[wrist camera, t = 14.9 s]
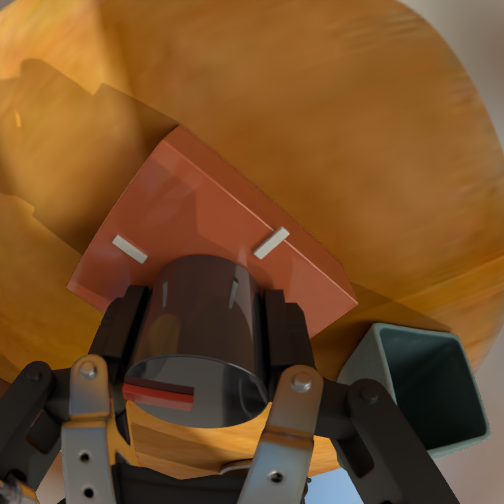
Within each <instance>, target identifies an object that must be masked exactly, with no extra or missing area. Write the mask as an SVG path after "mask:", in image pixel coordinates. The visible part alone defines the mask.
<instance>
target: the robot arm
mask: <svg viewBox="0 0 504 504" xmlns="http://www.w3.org/2000/svg"><path fill="white" fill-rule="evenodd" d="M149 294H150V291H149V288H148V286H139V285H129V286H128V288H127V290H126V292H125V295H124V297H123V298H122V297H117V298H116V299H115V300H114V301H113V302H112V303H111V304H110V305H109V306H108V308H107V310H106V312H105V314H104V317H103V319H102V321H101V325H100V326H99V328H98V331H97V333H96V335H95V338H94V340H93V343H92V345H91V348H90V350H89V353H88V355H85V356H82V357H80V358H79V359H77V360H76V361H75V362H74V364H73V365H72V367H71V368H66V369H58V370H51V368H50V367H49V365H48V364H47V363H45V362H43V361H34V362H32V363H30V364H28V365H27V366H26V367H25V368H24V369H23V370H22V371H21V373H20V374H19V375H18V376H17V378H16V379H15V380H14V382H13V383H12V384H11V386H10V387H9V388H8V389H7V391H6V392H5V393H4V395H3V396H2V397H1V399H0V504H40V503H39V501H38V499H37V496H36V493H35V492H36V490H37V488H38V487H39V485H40V483H41V481H42V480H43V478H44V476H45V475H46V473H47V471H48V469H49V468H50V466H51V464H52V463H53V461H54V459H55V458H56V456H57V454H58V453H59V451H60V450H61V448H62V464H63V477H64V489H65V498H64V499H63V500H61V501H60V502H59V503H57V504H305V499H304V497H305V495H306V494H307V492H308V485H307V482H308V483H310V482H311V479H310V478H307V474H308V470H309V466H310V461H311V457H312V453H313V448H314V440H313V437H314V435H316V436H321V437H326V438H330V440H331V442H332V444H333V446H334V448H335V450H336V452H337V454H338V456H339V458H340V459H341V461H342V463H343V465H344V467H345V469H346V471H347V473H348V475H349V476H350V478H351V480H352V482H353V484H354V486H355V488H356V490H357V492H358V493H359V495H360V497H361V499H362V501H363V503H364V504H460V503H459V501H458V500H457V498H456V496H455V495H454V493H453V491H452V490H451V488H450V487H449V485H448V483H447V482H446V480H445V479H444V477H443V475H442V474H441V472H440V471H439V469H438V467H437V466H436V464H435V463H434V461H433V460H432V458H431V456H430V455H429V453H428V452H427V450H426V449H425V447H424V446H423V444H422V442H421V441H420V439H419V438H418V436H417V435H416V433H415V432H414V430H413V429H412V427H411V426H410V424H409V423H408V421H407V420H406V418H405V417H404V415H403V414H402V412H401V411H400V409H399V408H398V406H397V405H396V403H395V402H394V400H393V399H392V397H391V396H390V394H389V393H388V391H387V390H386V388H385V387H384V386H383V385H382V384H381V383H380V382H378V381H376V380H373V379H369V378H364V379H359V380H357V381H355V382H354V383H352V384H351V385H346V384H341V383H336V382H332V381H330V380H328V379H326V378H324V377H323V376H322V375H321V374H320V373H319V372H318V371H317V369H316V367H315V364H314V359H313V354H312V349H311V344H310V339H309V334H308V329H307V325H306V320H305V315H304V311H303V310H302V309H301V308H300V306H299V305H298V304H297V303H285V297H284V291H283V289H264V292H263V317H264V330H265V343H266V356H267V369H268V382H269V395H270V396H269V402H272V406H271V409H270V412H269V416H268V419H267V422H266V425H265V428H264V430H263V431H262V434H261V437H260V440H259V442H258V445H257V448H256V451H255V454H254V457H253V460H246V461H238V462H233V463H229V464H226V465H224V466H222V467H221V468H220V475H210V476H204V477H198V478H191V479H183V480H180V479H176V478H173V477H170V476H167V475H165V474H162V473H159V472H157V471H154V470H152V469H149V468H145V467H141V464H140V461H139V458H138V456H137V454H136V451H135V447H134V442H133V436H132V429H131V422H130V414H129V407H128V404H127V400H125V399H124V397H123V393H122V388H123V384H124V383H123V379H124V374H125V371H126V367H127V363H128V360H129V357H130V353H131V350H132V346H133V343H134V340H135V337H136V333H137V330H138V327H139V324H140V321H141V318H142V315H143V311H144V308H145V305H146V302H147V299H148V296H149ZM41 410H42V412H41V414H40V415H39V417H38V418H37V420H36V421H35V423H34V424H33V426H32V427H31V429H30V430H29V432H28V433H27V430H28V429H29V427H30V426H31V424H32V423H33V421H34V420H35V418H36V417H37V415H38V414H39V413H40V411H41ZM26 433H27V434H26Z"/></svg>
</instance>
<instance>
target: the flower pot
mask: <svg viewBox="0 0 504 504" xmlns="http://www.w3.org/2000/svg"><path fill="white" fill-rule="evenodd" d="M364 378H369V379H373V380H376V381H378V382H380V383H381V384H382V385H383V386H384V387H385V388H386V390H387V391H388V393H389V394H390V396H391V397H392V399H393V400H394V402H395V403H396V405H397V406H398V408H399V409H400V411H401V412H402V414H403V415H404V417H405V418H406V420H407V421H408V423H409V424H410V426H411V427H412V429H413V430H414V432H415V433H416V435H417V436H418V438H419V439H420V441H421V442H422V444H423V446H424V447H425V449H426V450H427V452H428V453H429V455H430V456H431V458H432V459H436V458H439V457H442V456H445V455H448V454H451V453H454V452H457V451H460V450H462V449H465V448H468V447H470V446H473V445H475V444H478V443H480V442H482V441H484V440H487V439H488V438H489V437H490V435H491V431H490V427H489V422H488V418H487V415H486V412H485V408H484V405H483V402H482V399H481V395H480V392H479V389H478V386H477V383H476V380H475V377H474V374H473V371H472V368H471V366H470V363H469V360H468V358H467V355H466V352H465V350H464V347H463V345H462V343H461V341H460V339H459V337H458V336H457V335H455V334H452V333H446V332H436V331H428V330H422V329H415V328H409V327H404V326H398V325H392V324H386V323H373V324H372V326H371V327H370V329H369V330H368V332H367V333H366V335H365V336H364V337H363V339H362V340H361V342H360V343H359V345H358V346H357V347H356V349H355V350H354V352H353V353H352V355H351V356H350V357H349V359H348V360H347V362H346V363H345V365H344V366H343V368H342V370H341V371H340V373H339V375H338V378H337V381H336V383H341V384H346V385H351V384H352V383H354V382H355V381H357V380H359V379H364ZM337 460H338V463H339V465H340V466H341V467H342V468H343V469H344V470H346V469H345V467H344V465H343V463H342V461H341V459H340V458H339V456H338V454H337Z"/></svg>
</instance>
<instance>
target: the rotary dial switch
mask: <svg viewBox="0 0 504 504" xmlns="http://www.w3.org/2000/svg"><path fill="white" fill-rule="evenodd" d="M192 255H212V256H217V257H222V258H225V259H228V260H230V261H232V262H234V263H236V264H238V265H240V266H241V267H243V268H244V269H245V270H247V271H248V272H249V273H250V274H251V275H252V276H253V278H254V279H255V280H256V282H257V284H258V286H259V288H260V291H261V295H262V304H263V292H264V289H283V291H284V297H285V303H297V304H298V305H299V306H300V308H301V309H302V310H303V311H304V315H305V320H306V325H307V329H308V334H309V339H310V338H312V337H313V336H315V335H316V334H318V333H319V332H320V331H322V330H323V329H325V328H326V327H328V326H329V325H330V324H332V323H333V322H335V321H336V320H337V319H339V318H340V317H342V316H343V315H344V314H346V313H347V312H349V311H350V310H351V309H353V308H354V307H355V306H357V305H358V301H357V298H356V296H355V294H354V291H353V289H352V287H351V284H350V282H349V280H348V277H347V275H346V273H345V270H344V268H343V266H342V264H341V263H340V262H339V261H338V260H337V259H336V258H335V257H334V256H333V255H332V254H331V253H329V252H328V251H327V250H326V249H325V248H324V247H323V246H322V245H321V244H320V243H319V242H318V241H317V240H315V239H314V238H313V237H312V236H311V235H310V234H309V233H308V232H307V231H306V230H305V229H303V228H302V227H301V226H300V225H299V224H298V223H297V222H296V221H295V220H294V219H292V218H291V217H290V216H289V215H288V214H287V213H286V212H285V211H283V210H282V209H281V208H280V207H279V206H278V205H277V204H276V203H274V202H273V201H272V200H271V199H270V198H269V197H268V196H266V195H265V194H264V193H263V192H262V191H261V190H260V189H258V188H257V187H256V186H255V185H254V184H253V183H251V182H250V181H249V180H248V179H247V178H246V177H245V176H243V175H242V174H241V173H240V172H239V171H237V170H236V169H235V168H234V167H233V166H232V165H230V164H229V163H228V162H227V161H226V160H224V159H223V158H222V157H221V156H220V155H218V154H217V153H216V152H215V151H214V150H212V149H211V148H210V147H209V146H207V145H206V144H205V143H204V142H203V141H201V140H200V139H199V138H198V137H196V136H195V135H194V134H193V133H191V132H190V131H189V130H188V129H187V128H185V127H184V126H183V125H181V124H180V125H178V126H177V127H176V128H175V129H174V130H172V131H171V132H170V133H169V134H168V135H167V136H166V137H164V138H163V139H162V140H161V141H160V143H159V144H158V145H157V146H156V148H155V149H154V150H153V152H152V153H151V154H150V156H149V157H148V158H147V160H146V161H145V162H144V164H143V165H142V166H141V168H140V169H139V170H138V172H137V173H136V174H135V176H134V177H133V179H132V180H131V181H130V183H129V184H128V186H127V187H126V189H125V190H124V191H123V193H122V194H121V196H120V197H119V199H118V200H117V202H116V203H115V205H114V206H113V208H112V209H111V211H110V212H109V214H108V215H107V217H106V218H105V220H104V222H103V223H102V225H101V226H100V228H99V229H98V231H97V233H96V234H95V236H94V238H93V239H92V241H91V243H90V244H89V246H88V248H87V249H86V251H85V253H84V254H83V256H82V258H81V260H80V261H79V263H78V265H77V267H76V269H75V270H74V272H73V274H72V276H71V278H70V279H69V281H68V283H67V285H66V288H67V289H69V290H70V291H71V292H73V293H74V294H76V295H77V296H79V297H80V298H81V299H83V300H84V301H86V302H87V303H89V304H90V305H92V306H93V307H95V308H96V309H98V310H99V311H101V312H102V313H104V314H105V312H106V310H107V308H108V306H109V305H110V304H111V303H112V302H113V301H114V300H115V299H116V298H117V297H122V298H123V297H124V295H125V292H126V290H127V288H128V286H129V285H139V286H148V288H149V291H151V288H152V285H153V282H154V280H155V278H156V276H157V275H158V273H159V272H160V271H161V270H162V269H163V268H164V267H165V266H167V265H168V264H169V263H171V262H173V261H175V260H177V259H180V258H183V257H187V256H192Z"/></svg>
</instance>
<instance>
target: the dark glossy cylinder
mask: <svg viewBox="0 0 504 504" xmlns="http://www.w3.org/2000/svg"><path fill="white" fill-rule="evenodd" d="M123 383H124V384H123V388H122V393H123V397H124V399H125V400H130V401H133V402H134V403H135V404H136V405H137V406H138V407H140V408H141V409H142V410H144V411H146V412H147V413H149V414H151V415H153V416H155V417H157V418H159V419H162V420H164V421H167V422H170V423H174V424H177V425H182V426H187V427H195V428H223V427H230V426H235V425H239V424H242V423H245V422H247V421H250V420H252V419H253V418H255V417H257V416H258V415H260V414H261V413H262V412H263V411H264V410H265V408H266V407H267V405H268V402H269V396H270V395H269V382H268V369H267V356H266V343H265V330H264V317H263V304H262V295H261V291H260V288H259V286H258V284H257V282H256V280H255V279H254V278H253V276H252V275H251V274H250V273H249V272H248V271H247V270H245V269H244V268H243V267H241V266H240V265H238V264H236V263H234V262H232V261H230V260H228V259H225V258H222V257H217V256H212V255H192V256H187V257H183V258H180V259H177V260H175V261H173V262H171V263H169V264H168V265H167V266H165V267H164V268H163V269H162V270H161V271H160V272H159V273H158V275H157V276H156V278H155V280H154V282H153V285H152V288H151V291H150V294H149V296H148V299H147V302H146V305H145V308H144V311H143V315H142V318H141V321H140V324H139V327H138V330H137V333H136V337H135V340H134V343H133V346H132V350H131V353H130V357H129V360H128V363H127V367H126V371H125V374H124V379H123Z"/></svg>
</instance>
